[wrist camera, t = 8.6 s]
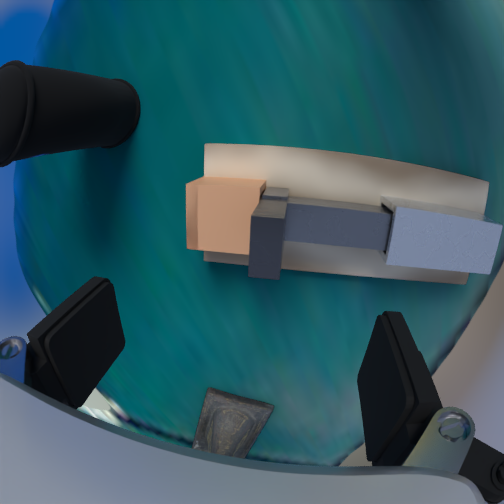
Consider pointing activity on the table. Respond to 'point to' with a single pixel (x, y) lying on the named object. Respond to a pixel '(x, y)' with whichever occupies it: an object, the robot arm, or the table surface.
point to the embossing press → (229, 423)
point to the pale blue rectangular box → (439, 237)
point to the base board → (344, 200)
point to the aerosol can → (61, 111)
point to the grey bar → (310, 227)
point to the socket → (221, 213)
